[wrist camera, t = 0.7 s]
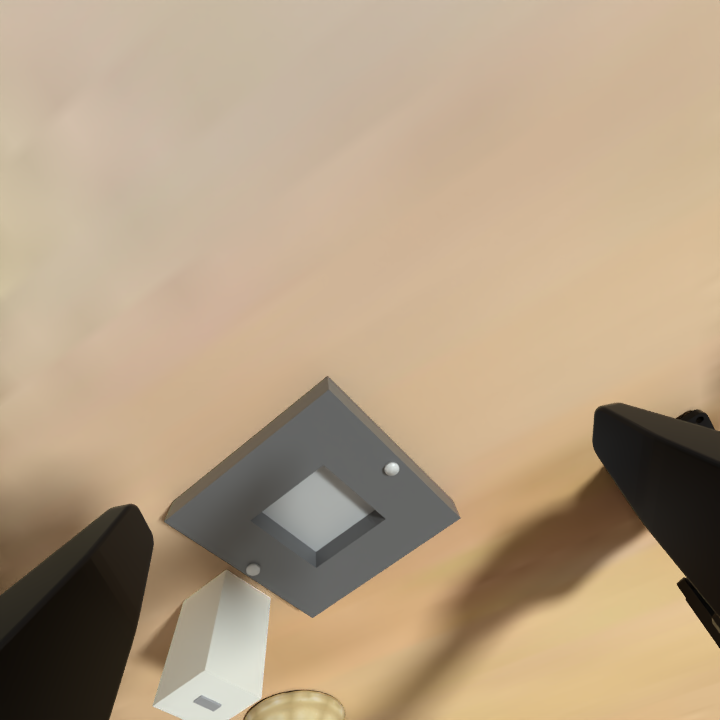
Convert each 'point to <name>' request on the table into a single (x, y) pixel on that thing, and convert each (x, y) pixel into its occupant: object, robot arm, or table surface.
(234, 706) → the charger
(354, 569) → the outlet plate
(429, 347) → the table surface
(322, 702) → the hand bell
